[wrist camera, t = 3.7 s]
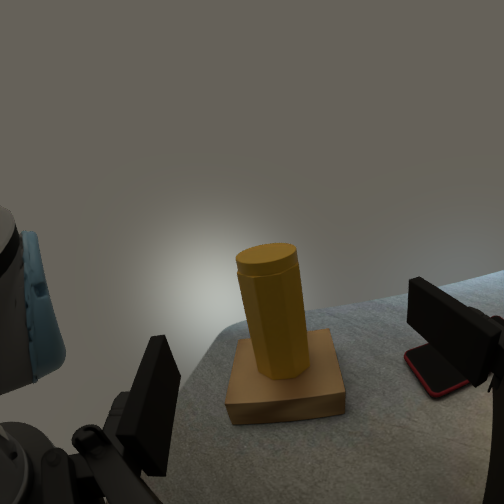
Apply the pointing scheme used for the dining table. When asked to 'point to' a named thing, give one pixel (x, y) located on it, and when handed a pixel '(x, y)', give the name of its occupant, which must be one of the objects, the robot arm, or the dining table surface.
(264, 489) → the dining table surface
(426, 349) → the smartphone
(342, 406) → the stand
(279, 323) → the jar
